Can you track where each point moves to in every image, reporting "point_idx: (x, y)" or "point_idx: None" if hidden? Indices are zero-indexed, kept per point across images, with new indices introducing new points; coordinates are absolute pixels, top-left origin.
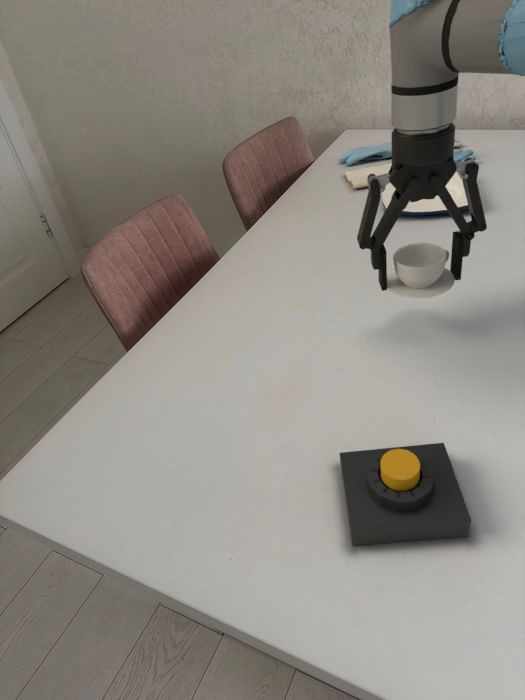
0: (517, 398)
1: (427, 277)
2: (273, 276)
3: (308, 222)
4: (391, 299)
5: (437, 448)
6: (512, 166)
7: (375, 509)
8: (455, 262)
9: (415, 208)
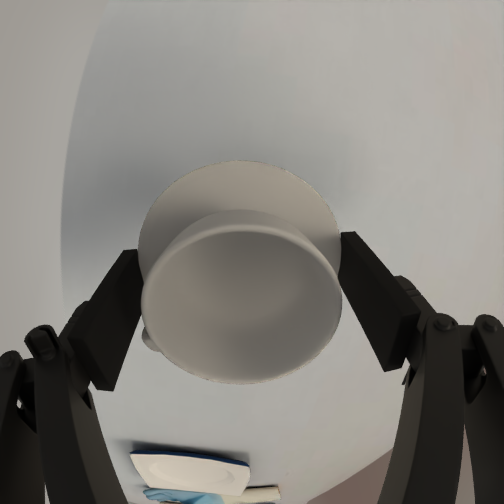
0: (109, 5)
1: (224, 212)
2: None
3: (347, 450)
4: None
5: None
6: None
7: None
8: (123, 289)
9: (208, 463)
